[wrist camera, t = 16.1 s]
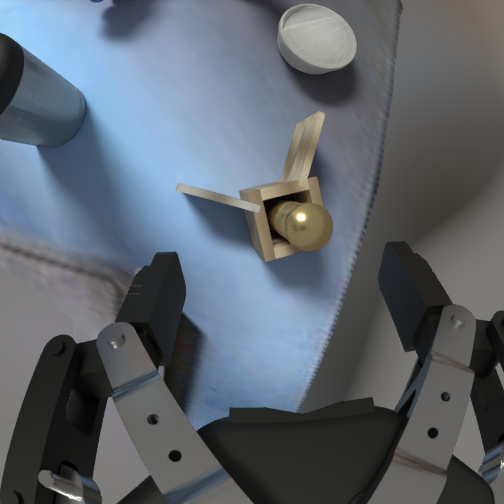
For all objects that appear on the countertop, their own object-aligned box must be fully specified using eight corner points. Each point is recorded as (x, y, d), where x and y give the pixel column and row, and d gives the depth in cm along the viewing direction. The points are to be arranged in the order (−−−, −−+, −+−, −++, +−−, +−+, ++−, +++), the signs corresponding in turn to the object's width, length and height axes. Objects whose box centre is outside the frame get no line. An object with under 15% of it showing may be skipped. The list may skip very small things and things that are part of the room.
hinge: (200, 261, 40) (201, 280, 32) (171, 151, 36) (163, 142, 28) (324, 227, 42) (350, 237, 34) (301, 123, 38) (324, 110, 30)
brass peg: (261, 232, 40) (293, 257, 27) (253, 200, 39) (282, 209, 26) (291, 224, 41) (336, 244, 27) (284, 193, 40) (328, 198, 26)
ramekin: (291, 8, 33) (301, -9, 28) (351, 45, 36) (367, 33, 31) (256, 54, 35) (264, 38, 30) (323, 94, 37) (339, 84, 32)
